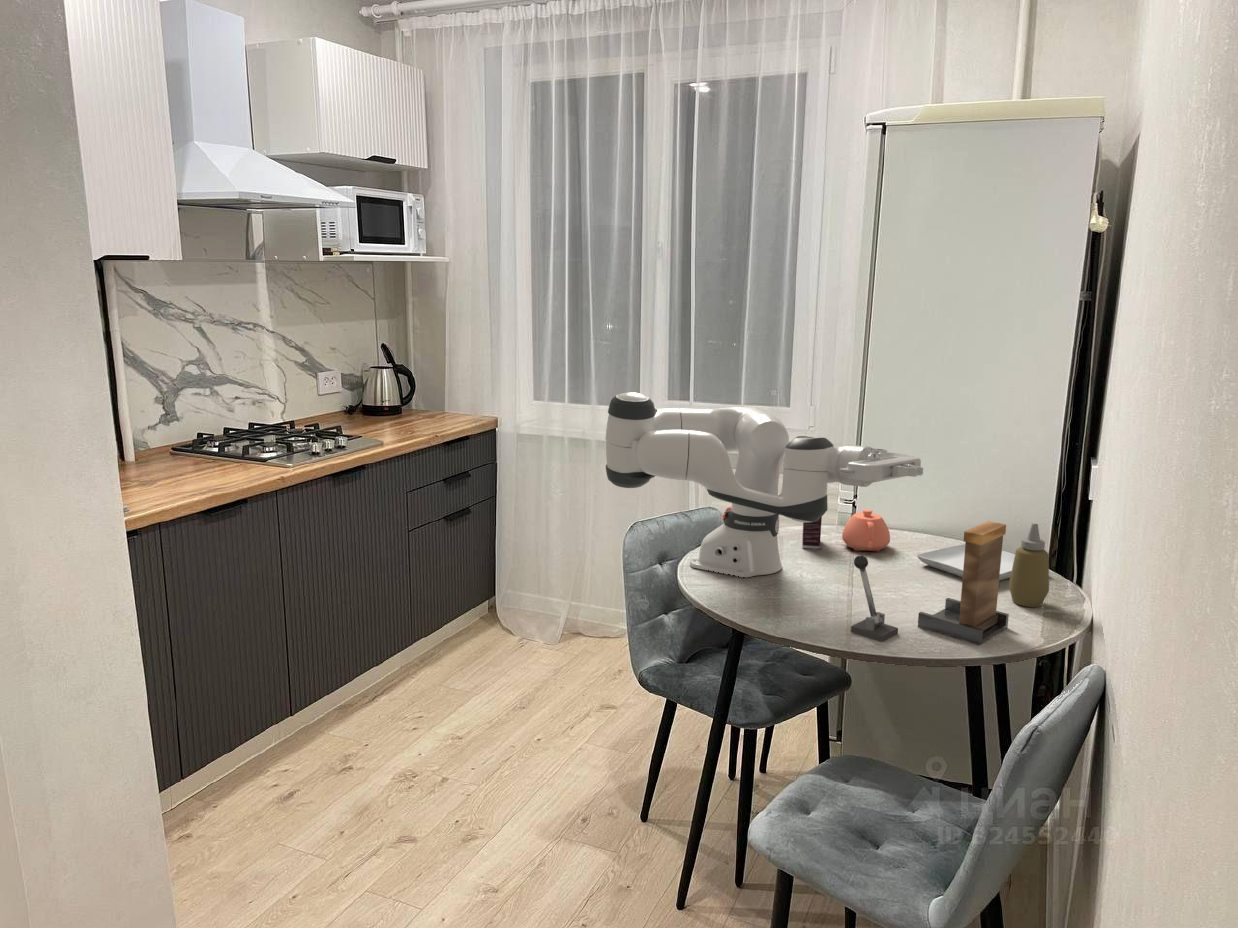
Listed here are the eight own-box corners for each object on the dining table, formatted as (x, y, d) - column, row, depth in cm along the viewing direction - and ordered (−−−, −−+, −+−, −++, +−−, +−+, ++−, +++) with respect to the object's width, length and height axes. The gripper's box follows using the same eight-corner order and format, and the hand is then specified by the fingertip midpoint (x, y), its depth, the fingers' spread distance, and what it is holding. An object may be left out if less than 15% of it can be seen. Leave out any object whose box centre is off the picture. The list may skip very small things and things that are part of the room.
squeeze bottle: (1002, 604, 194) (1009, 524, 190) (1013, 594, 200) (1020, 517, 196) (1041, 612, 189) (1049, 531, 185) (1052, 602, 195) (1060, 523, 191)
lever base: (850, 631, 179) (851, 614, 178) (866, 623, 183) (867, 607, 182) (881, 641, 174) (883, 624, 173) (897, 633, 178) (898, 616, 178)
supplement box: (820, 549, 233) (823, 491, 230) (802, 548, 234) (804, 490, 231) (820, 540, 241) (822, 483, 238) (802, 539, 242) (804, 482, 239)
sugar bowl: (885, 541, 240) (887, 505, 238) (894, 557, 227) (897, 518, 225) (839, 540, 242) (840, 503, 240) (845, 555, 228) (847, 517, 226)
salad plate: (913, 566, 221) (914, 552, 220) (970, 553, 231) (971, 540, 230) (985, 591, 203) (986, 577, 202) (1044, 576, 213) (1045, 562, 212)
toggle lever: (866, 627, 178) (849, 557, 179) (873, 623, 180) (857, 554, 181) (878, 626, 176) (861, 556, 177) (885, 623, 178) (869, 553, 179)
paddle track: (917, 626, 182) (918, 612, 181) (946, 610, 190) (948, 597, 190) (979, 645, 172) (980, 630, 172) (1007, 627, 181) (1008, 613, 180)
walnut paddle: (955, 630, 177) (963, 531, 173) (979, 616, 184) (987, 520, 180) (974, 636, 174) (983, 535, 170) (998, 621, 181) (1007, 524, 177)
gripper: (834, 455, 186) (894, 460, 176) (884, 448, 200) (943, 453, 190) (833, 485, 186) (893, 492, 177) (883, 476, 200) (942, 482, 191)
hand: (919, 471), depth 183 cm, fingers closed
